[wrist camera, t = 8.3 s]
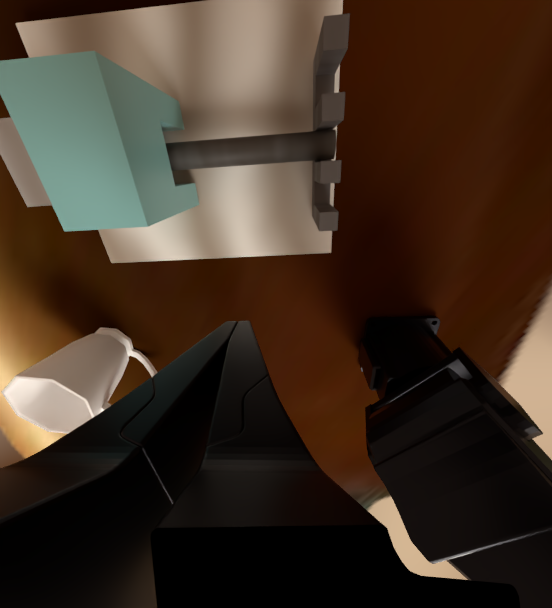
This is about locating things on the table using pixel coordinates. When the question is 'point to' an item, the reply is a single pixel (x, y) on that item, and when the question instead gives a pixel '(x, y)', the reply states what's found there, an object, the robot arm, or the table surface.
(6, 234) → the table surface
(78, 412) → the cup
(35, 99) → the teal block
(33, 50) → the cord board
